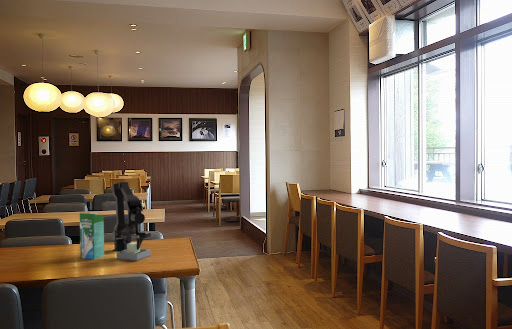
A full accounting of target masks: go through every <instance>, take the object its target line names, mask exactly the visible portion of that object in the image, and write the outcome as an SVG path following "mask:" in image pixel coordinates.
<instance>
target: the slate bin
mask: <svg viewBox="0 0 512 329" xmlns="http://www.w3.org/2000/svg"><path fill="white" fill-rule="evenodd" d="M149 257H151V249H148V248H140V252H138V253H136V254H132V253H127V249H126V250H123V251H117V252H116V260H121V261H133V262H137V261H140V260H143V259H145V258H149Z"/></svg>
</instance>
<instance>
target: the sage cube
mask: <svg viewBox="0 0 512 329" xmlns="http://www.w3.org/2000/svg"><path fill="white" fill-rule="evenodd" d="M140 249H141V247H140V248H139V250H137V242H136V241H135V242H133V241H131V243H129V244H127V253H132V254H136V253H138V252H140Z"/></svg>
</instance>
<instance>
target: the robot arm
mask: <svg viewBox="0 0 512 329" xmlns="http://www.w3.org/2000/svg"><path fill="white" fill-rule="evenodd" d="M110 191H111V193H112V196H113V197H114V199H115V200H114V201H115V216H116V222H115V225H114V227H113V232H112V234H111V240H112V241H114V245H113V246H114V249H112V251H115V252H116V251H117V252H120V251H123V250H126V249H127V244H129V243H132V236H137V237H136V238H135V240H136V243H137V250H139V248H140V249H141V246H142V243H143V241H144V240H145V239H147V238H150V237H151V235H152V234H151V232H150V231H148V230H145V231H141V229H140V226H139V225H141V224H143V223H144V222H145V220H146V217H145V215H144V214H143V213H142V212H144V210H143V209H144V208H143V207H144V206H143V205H142V201H141V200H140V198H139V197H138V196H136V195H134V193H133V192H132V189H131V188H130V186H129V181H119V182H116V183H113V184H112V185H111V186H110ZM125 208H126V210H127V223H126V219H125Z"/></svg>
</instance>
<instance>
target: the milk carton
mask: <svg viewBox="0 0 512 329" xmlns="http://www.w3.org/2000/svg"><path fill="white" fill-rule="evenodd" d="M104 218H105V217H104V215H102V214H98V212H95V211H93V212H92V211H90V212H89V213H84V212H80V213H79V244H80V246H79V248H80V250H79V251H80V252H79V253H80V259H86V260H88V259H89V260H96V259H99V258H102V257H104V256H105V235H104V234H105V226H104V225H105V221H104V220H105V219H104Z"/></svg>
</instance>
